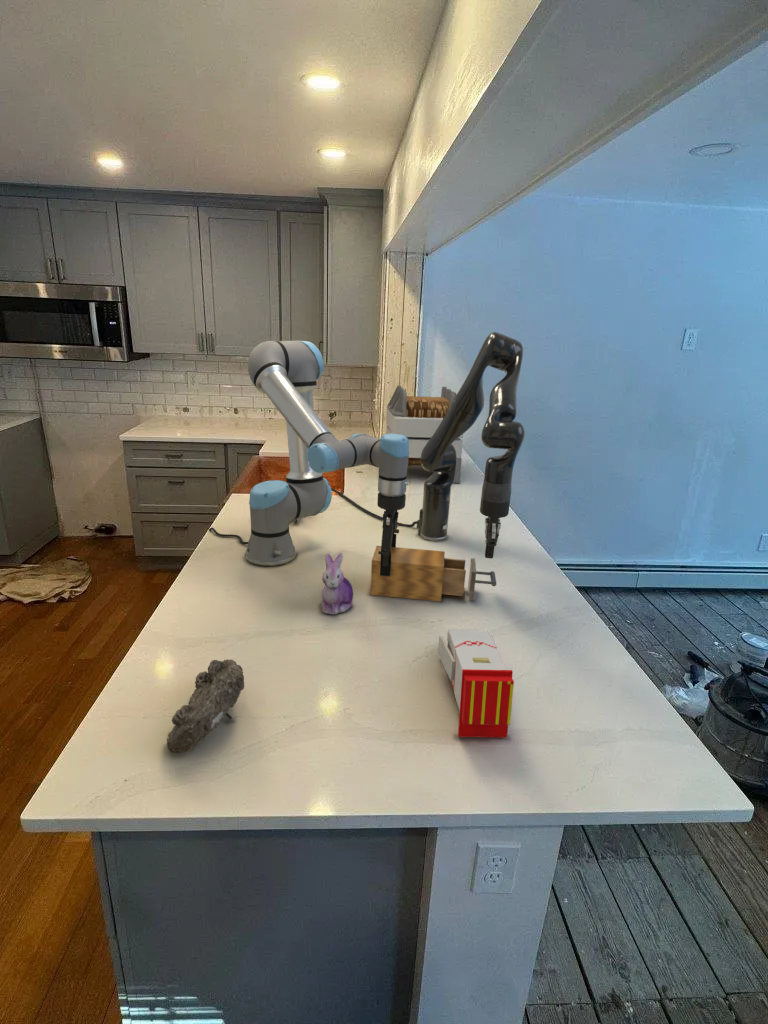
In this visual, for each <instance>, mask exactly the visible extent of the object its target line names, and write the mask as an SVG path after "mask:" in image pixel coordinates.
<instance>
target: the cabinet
mask: <svg viewBox="0 0 768 1024" xmlns="http://www.w3.org/2000/svg"><path fill="white" fill-rule="evenodd" d="M374 549H375V550H374V553H373V556H372V559H371V568H370V569H371V570H370V571H371V572H370V595H371V596H379V597H380V596H381V597H392V598H400V599H401V598H402V599H412V600H423V601H432V602H442V596H443V594H442V585H443V573H444V558H446V557H445V555H446V552H445V551H443V550H431V549H420V548H409V547H397V546H396V547H391V570H390V576H380V564H381V554H378V551H381V545H376V546H375V548H374Z"/></svg>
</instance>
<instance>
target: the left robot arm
mask: <svg viewBox="0 0 768 1024" xmlns="http://www.w3.org/2000/svg"><path fill="white" fill-rule="evenodd" d="M324 367H325V366H324V359H323V355H322V353H321V350H320V349H319V348H318V347H317V346H316V344H314V343H313V342H311V341H308V340H307V341H306V340H299V339H297V340H266V341H263V342H260V343H259V344H257V345H256V346H255V347H254V348H253V349H252V351H250V354H249V356H248V360H247V372H248V376H249V378H250V380H251V383H252V385H254V387H255V388H256V389H257V391H258V392H259V393H261V394H265V395H266V396H267V398H268V399H269V400H270V402H271V403H272V404H273V405H274V407H275V408H276V409H277V411H278V412H279V414H280V415H281V416H282V417H283V418H284V419H285V422H286V423H285V424H286V435H287V446H288V447H287V448H288V456H289V457H288V460H289V471H288V473H286V475H285V481H284V480H280V479H274V480H266V481H262V482H259V483H257V484H255V485H253V487H252V488H251V489H250V491H249V501H248V504H249V516H250V517H249V519H250V536H249V539H248V541H244V540H243V539H242V536H240V535H238V534H224V533H220V532H218V531H217V530H216V529H215V528H214V527H209V529H208V531H213V532H214V534H216V535H217V536H219V537H224V538H225V537H228V538H229V537H230V538H232V537H233V538H237V539H238V540H239V542H240V544H243V545H247V546H246V549H245V560H247V562H249V563H250V564H253V565H255V566H261V567H276V566H282V565H286V564H289V563H291V562H292V561H293V560H294V559H295V558H296V555H297V554H296V552H297V551H296V547H295V545H294V543H293V538H292V536H291V533H290V522H294V521H295V520H297V521H298V520H300V519H304V518H308V517H314V516H317V515H319V514H322V513H324V512H325V511H327V510H328V508H329V507H330V505H331V504H332V503H331V502H332V497H333V491H332V490H331V488H332V486H331V485H330V483H329V480H328V479H326V478H325V477H324V474H323V473H333V472H336V471H339V470H344V469H348V468H349V469H350V468H354V467H359V466H364V465H368V466H372V467H375V468H378V477H377V491H378V493H377V503H376V504H377V507H379V508H380V509H381V510H384V511H383V514H382V517H383V520H382V527H381V528H382V534H381V545H380V546H381V551H378V554H381V564H380V576H390V570H391V547H397V534H399V533H400V529H398V526H399V525H397V522H399V521H398V520H399V519H398V518H399V511H401V510H403V509H405V507H406V500H407V494H406V492H407V486H409V485H410V483H409V481H407V479H408V457H409V440H408V438H407V437H406V436H404V435H400V434H386V433H384V434H383V435H381V436H380V438H378V437H375V436H371V435H369V434H367V433H353V434H352V435H350V436H349V437H348V438H345V439H337V438H336V436H335V435H334V434H333V433H332V432H331V430H330V429H329V428H328V426H327V425H326V424H325V422H323V420H322V419H321V418H320V416H319V415H318V414H317V413H316V412H315V410H314V397H313V396H314V395H313V392H314V390H315V389H316V388H317V387H318V383H317V380H318V379H320V378H321V377H322V375H323V374H322V373H323V372H324Z"/></svg>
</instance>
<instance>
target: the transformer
mask: <svg viewBox="0 0 768 1024" xmlns="http://www.w3.org/2000/svg"><path fill="white" fill-rule="evenodd" d="M440 393H441V394H440V396H415V395H414V396H413V395H412V396H411V395H407V394H408V393H407V390H406V389H404V388H403V387H402V385H399V384H398V385H397V386H396V388H395V390H394V392H393V394H392V395H391V398H390V400H389V402H388V404H387V405H386V413H385V414H386V415H385V423H386V428H385V434H400V435H404V436H406V437H407V438H408V440H409V457H408V466H411V467H412V466H413V467H415V466H416V467H417V466H418V467H422V465H421V453H422V450H423V448H424V447H425V445H426V444H427V443H428V441H429V440H430V438H431V437H432V436H433V434H434V433H435V431H436V430H437V428H438V427H439V425H440V423H441V422H442V420H443V418H444V416H445V415H446V413H447V411H448V409H449V407H450V405H451V403H452V402H453V400H454V398H455V396H456V395H457V392H455V391H453V390H452V389H451V388H447V386H442V387H441V392H440ZM463 438H464V433H463V434H462V435H461V436H460V437H459V438H457V439H456V440H455V441H454V442H453V443H452V445H453V446H454V448H455V450H456V455H457V461H456V469H455V476H454V482H453V484H455V483H456V484H459V483H461V472H462V461H463V460H462V453H463V442H464V441H463V440H462V439H463Z"/></svg>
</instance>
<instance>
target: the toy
mask: <svg viewBox="0 0 768 1024" xmlns="http://www.w3.org/2000/svg"><path fill="white" fill-rule="evenodd" d="M446 640H447V643H446V641H445V639H444V636H443V635H442V634H439V637H438V646H437V656H438V657H439V659H440V661H441V663H442V666H443V668H444V670H445V672H446V674H447V677H448V679H449V681H450V684H451V687H452V690H453V693H454V697H455V701H456V705H457V708H458V711H459V714H458V715H459V716H458V730H457V731H458V732H457V737H458V738H508V731H509V726H510V725H511V717H512V707H513V697H514V696H513V695H514V684H515V680H514V679H513V673H514V671H513V670H512V669H508V667H507V665H506V662H505V661H504V659H503V658H502V655H501V653H500V651H499V649H498V647H497V643H496V639H495V637H494V635H493V634H491V632H490V631H489V629H467V628H466V629H465V628H463V629H461V628H460V629H459V628H448V630H447V639H446Z"/></svg>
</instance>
